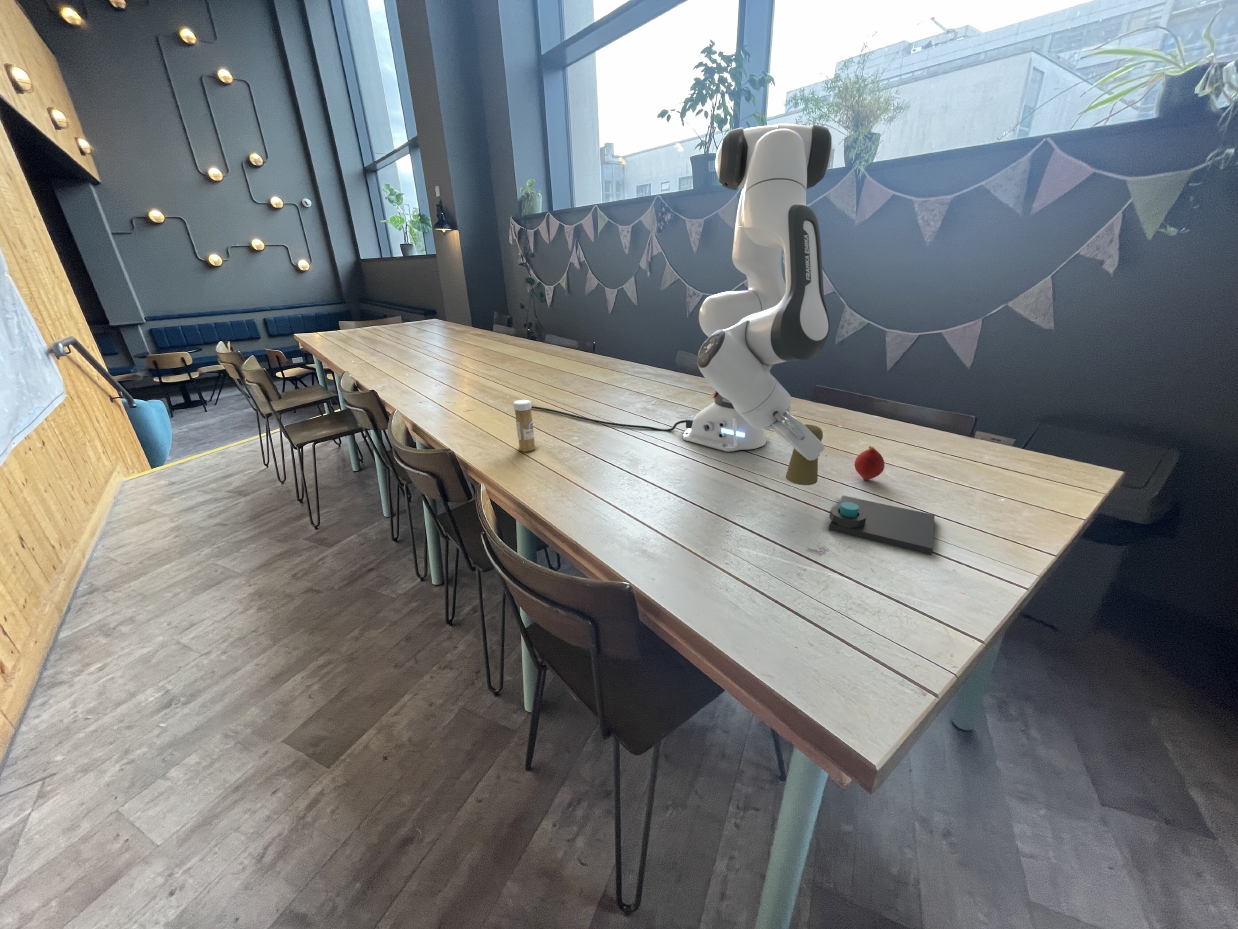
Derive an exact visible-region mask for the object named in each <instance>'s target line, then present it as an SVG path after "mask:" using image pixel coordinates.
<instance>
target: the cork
mask: <svg viewBox="0 0 1238 929" xmlns="http://www.w3.org/2000/svg"><path fill="white" fill-rule="evenodd" d="M803 424H804V423H803ZM804 425H805V426H806V427H807V428H808V429H809V430H810V431H811V432H812V433H813V434H814V435H815V436H816V437H817V438H818V439H819V440H820V441H821V442H822V440H823V438H824V432H823V430H822V428H821V427H819V426H817V425H814V424H809V423H808V424H807V423H806V424H804ZM787 466H788V467H787V470H786V474H785V479H786V481H788V482H790V483H792V484H795V485H799V486H813V485H815V484H817V483H818V480H819V478H818V477H819V474H818V473H819V457H818V458H816V459H815V460H807V459H806V458H805V457H804V456H802V455H801V454H800V453H799V452H798V451H797V450H795V449H794V448H793V450H792V453H791V456H790V460H789V463H788V465H787Z"/></svg>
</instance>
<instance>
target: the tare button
mask: <svg viewBox="0 0 1238 929" xmlns="http://www.w3.org/2000/svg"><path fill="white" fill-rule="evenodd" d="M858 510H859V506H858V505H857V504H855V503H851V502H843V503H841V506H840V512H839V513H840V514H841V515H843V516H846V517H857V515H858Z"/></svg>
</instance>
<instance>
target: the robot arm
mask: <svg viewBox="0 0 1238 929" xmlns="http://www.w3.org/2000/svg"><path fill="white" fill-rule="evenodd" d="M832 139H833V138H832V134H831V132H830V130H829V128H828V127H826V126H823V125H818V124H811V125H803V124H795V123H794V124H793V123H777V124H773V125H772V124H771V125H760V126H755V127H748V128H744V127H738V128H734V129H731V130H729V131H727V132H726V133H725V135H723V137H722V139H721V142H720V144H719V146H718V149H717V151H716V155H715V156H716V157H715V171H716V175H717V178H718V183H719V184H720V185H721V186H722V187H723V188H724V189H728V190H733V191H737V190H741V192H740V193H741V194H740V197H739V201H738V207H737V211H736V218H735V226H734V227H735V228H734V235H733V245H732V255H731V260H732V263H733V265H734V267H735V269H737V270H738V271H739V272H740V273H742V274H743V275H745V277H746V279H747V290H733V291H724V292H719V293H717V294H712V295H710V296H708V297H706V298H705V299H704V301H703V302H702V304H701V306H700V308H699V312H698V322H699V323H698V324H699V326H700V329H701V331H703V333H704V334H705V335H706V336H707V338H706V339H705V340H704V342H703V343H702V345H701V346H700V348H699V350H698V353H697V357H696V364H697V366H698V369H699V371H700V373H701V375H702V376H703V377H704V378H705V380H706V381H707V382H708V383H709V385H710V386H711V387H712V389H714V390H715V391H714V393H712V397H711V398H712V399H714V401H713V402H712V403H710V404H708V405H707V406H706V407H704V408H703V409H701V410H700V411H699V412H697V413H696V414H691V415H689V416H688V417H687V418H686V419H682V420H679V421H677V422H675V423H674V425H673V426H672V427H670V428H658V427H653V426H648V425H637V424H627V423H617V422H610V421H604V420H600V419H599V420H598V419H594V418H588V417H584V416H580V415H577V414H572V413H569V412H564V411H560V410H557V409H552V408H547V407H541V406H535V405H531V409H535V410H541V411H546V412H552V413H555V414H561V415H565V416H567V417H572V418H576V419H580V420H584V421H588V422H592V423H596V424H597V423H598V424H602V425H609V426H617V427H624V428H625V427H626V428H635V429H645V430H646V429H647V430H652V431H658V432H659V431H660V432H672V431H674V430H675V429H676V427H677V426H678V425H680V424H685V428H686V430H685V431H684V432H683V435H682V439H683V441H687V442H690V443H694V444H697V445H701V446H705V447H708V448H713V449H716V450H719V451H722V452H727V453H731V452H736V451H747V450H753V449H754V450H755V449H758V448H759V449H760V447H764V446H765V445H766V443H767V439H766V434H765V430H766V431H767V430H772V431H773V432H775V433H776V434H777V435H778V436H779V437H780V438H781V439H783V440H784V441H785V442H786V443H787V444H788V445H790V446H791V447H792V448H793V449H795V450H797V451H798V452H799V453H800V454H801V455H802V456H804V457H805V458H806V459H807V460H815V459H816V458H818V459H819V457H820V455H821V453H823V451H824V450H825V445H824V443H823V442H822V440H821V441H820V440H819V439H818V438H817V437H816V436H815V435H814V434H813V433H812V432H811V431H810V430H809V429H808V428H807V427H806V426H805V425H804V423H803V422H802V421H801V420H800V419H798V418H797V417H795V416H794V415H793V414H792V413H790V412H791V402H792V396H791V394H790V393H789V392H788V391H787V390H786V388H785V387H784V386H783V385H782V384H781V383H780V382H779V381H778V379H776V377H775V376H773V374H772V373H771V369H772V368H773V366H774V365H776V364H777V365H778V364H782V363H786V362H797V361H798V362H799V361H807V360H811V359H813V358H814V357H816V356H817V355H818V354H820V353H821V351H822V349H823V348H824V346H825V345H826V342H827V340H828V337H829V335H830V330H831V322H830V316H829V312H828V308H827V305H826V304H827V303H826V300H825V299H826V298H825V291H824V289H825V288H824V275H823V274H824V273H823V256H822V243H821V241H822V240H821V232H820V225H819V220H818V217H817V215H816V214H815V212H814V210H813V209H812V208H811V207H809V206H808V205H807V190H808V189H811V188H813V187H815V186H816V185H818V184H819V183H820V182H821V181H822V180H823V179H824V177H825V176H826V173H827V171H828V169H829V167H830V165H831V161H832V158H833V141H832ZM783 255H784V257H782V256H783ZM782 258H784V274H783V269H782Z"/></svg>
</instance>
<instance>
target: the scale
mask: <svg viewBox="0 0 1238 929" xmlns="http://www.w3.org/2000/svg"><path fill="white" fill-rule="evenodd" d="M843 502H851V503H855V504H857V505H858V506H859V510H858V515H857V517H846V516H843V515H841V514H840V513H839V512H840V506H841V503H843ZM935 516H936V514H933V513H927V512H924V511H918V510H915V509H914V510H913V509H909V508H904V507H901V506H900V507H899V506H895V505H889V504H886V503H881V502H875V501H871V500H866V499H861V498H857V497H853V496H847V495H841V497H840V499H839V501H838V503H837V504H836V505H834V506H831V508H830V512H829V519H830V522H829V524H828V525H829V526H828V531H831V532H834V533H838V534H843V535H846V536H851V537H855V538H860V539H864V540H867V541H872V542H876V543H880V544H882V545H883V544H884V545H887V546H891V547H896V548H900V549H904V550H908V551H912V552H915V553H920V554H925V555H928V556H931V555H932V552H933V548H934V534H935V533H934V530H935Z"/></svg>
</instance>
